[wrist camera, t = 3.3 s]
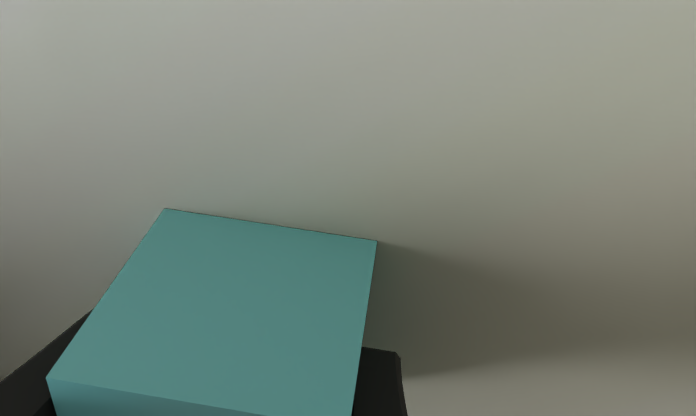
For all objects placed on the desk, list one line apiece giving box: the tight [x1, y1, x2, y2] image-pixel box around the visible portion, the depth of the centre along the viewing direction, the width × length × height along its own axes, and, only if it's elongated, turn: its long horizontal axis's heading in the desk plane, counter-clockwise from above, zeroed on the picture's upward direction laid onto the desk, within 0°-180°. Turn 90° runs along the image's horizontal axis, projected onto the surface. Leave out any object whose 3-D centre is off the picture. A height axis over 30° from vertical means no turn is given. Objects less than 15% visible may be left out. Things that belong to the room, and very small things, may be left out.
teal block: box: [46, 208, 377, 416], centre depth 10 cm, size 4×4×4 cm
